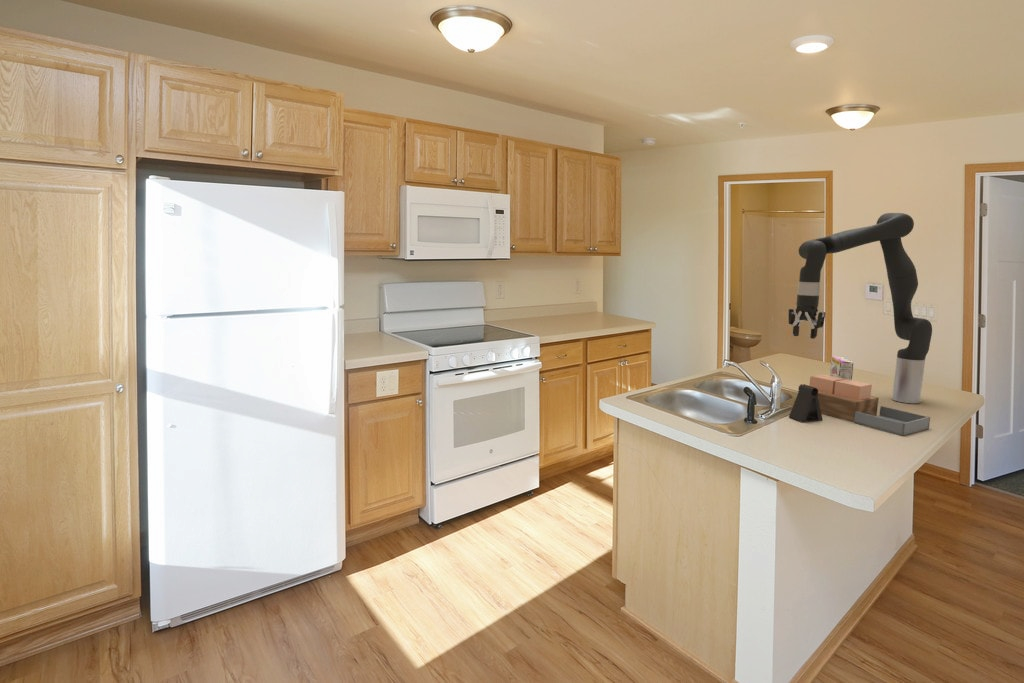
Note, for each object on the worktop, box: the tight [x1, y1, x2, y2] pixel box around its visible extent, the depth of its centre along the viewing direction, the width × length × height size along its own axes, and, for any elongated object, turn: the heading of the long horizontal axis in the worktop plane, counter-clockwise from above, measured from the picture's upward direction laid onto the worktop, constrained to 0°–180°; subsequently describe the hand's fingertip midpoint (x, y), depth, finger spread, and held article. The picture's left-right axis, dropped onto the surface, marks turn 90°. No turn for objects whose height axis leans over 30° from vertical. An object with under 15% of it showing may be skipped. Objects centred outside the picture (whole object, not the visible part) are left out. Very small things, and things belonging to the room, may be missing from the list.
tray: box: [853, 405, 931, 437], centre depth 197 cm, size 16×16×4 cm
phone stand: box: [788, 383, 823, 423], centre depth 203 cm, size 9×6×12 cm, turn 104°
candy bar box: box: [829, 356, 854, 380], centre depth 230 cm, size 11×5×16 cm, turn 168°
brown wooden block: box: [818, 391, 880, 423], centre depth 213 cm, size 14×20×7 cm
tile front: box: [834, 379, 873, 400], centre depth 208 cm, size 7×9×5 cm
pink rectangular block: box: [808, 373, 845, 394], centre depth 216 cm, size 7×9×5 cm
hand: (804, 337), depth 223 cm, fingers open, 6 cm apart
